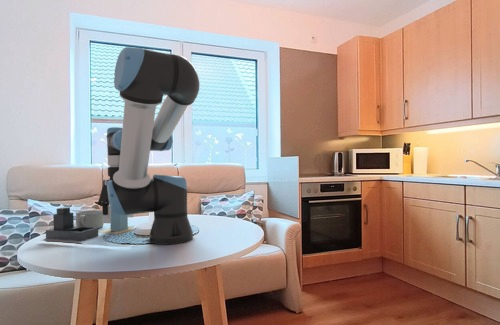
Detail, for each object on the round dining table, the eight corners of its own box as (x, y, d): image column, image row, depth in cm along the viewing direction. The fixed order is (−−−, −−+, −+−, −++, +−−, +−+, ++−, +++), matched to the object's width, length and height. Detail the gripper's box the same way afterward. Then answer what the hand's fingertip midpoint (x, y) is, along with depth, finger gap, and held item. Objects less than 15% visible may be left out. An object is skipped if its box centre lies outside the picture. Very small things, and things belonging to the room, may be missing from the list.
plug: (127, 228, 126) (127, 201, 126) (120, 231, 122) (119, 203, 121) (118, 228, 127) (118, 201, 127) (110, 230, 123) (110, 203, 123)
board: (141, 229, 128) (141, 227, 128) (121, 236, 117) (121, 234, 117) (117, 228, 132) (117, 225, 132) (95, 235, 120) (95, 232, 120)
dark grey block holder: (98, 238, 115) (97, 207, 115) (80, 243, 107) (79, 210, 107) (65, 235, 120) (64, 206, 120) (45, 241, 112) (45, 209, 112)
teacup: (87, 227, 135) (87, 209, 135) (110, 227, 134) (110, 209, 134) (64, 235, 121) (63, 214, 121) (89, 235, 120) (89, 215, 120)
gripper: (130, 165, 137) (131, 214, 137) (86, 167, 114) (87, 225, 114) (144, 165, 135) (145, 214, 135) (102, 167, 111) (104, 226, 112)
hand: (119, 220), depth 124 cm, fingers open, 12 cm apart
